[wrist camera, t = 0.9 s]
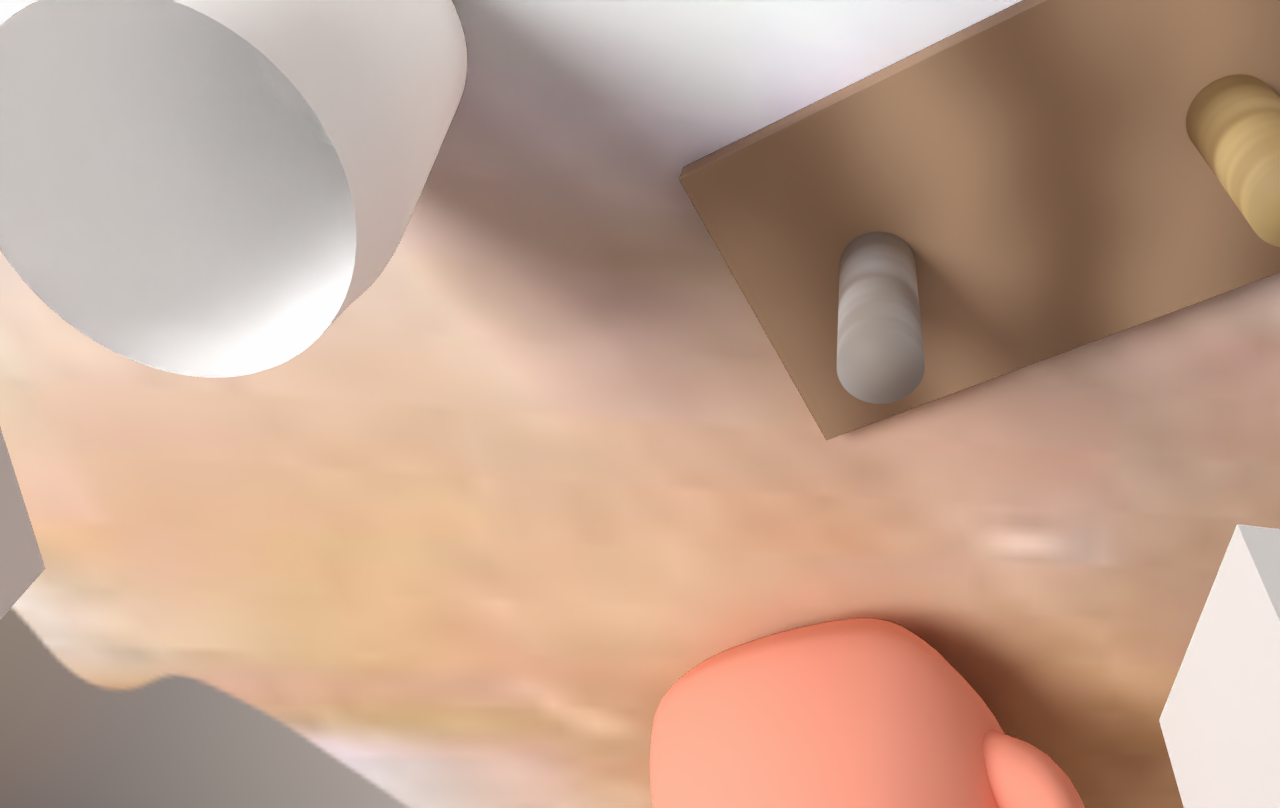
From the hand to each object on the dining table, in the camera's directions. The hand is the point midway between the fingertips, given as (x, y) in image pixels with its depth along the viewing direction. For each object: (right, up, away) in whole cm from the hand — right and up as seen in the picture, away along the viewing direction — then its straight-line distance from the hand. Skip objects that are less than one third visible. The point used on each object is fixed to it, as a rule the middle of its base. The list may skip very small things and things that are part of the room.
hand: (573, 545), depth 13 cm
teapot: (+9, -10, +33) cm, 36 cm away
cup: (-8, +12, +22) cm, 27 cm away
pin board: (+12, +8, +21) cm, 26 cm away
